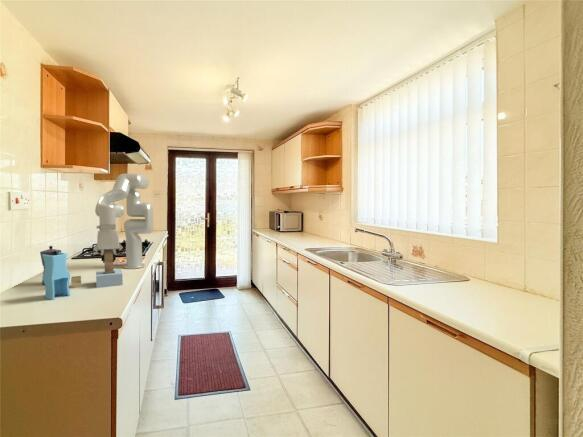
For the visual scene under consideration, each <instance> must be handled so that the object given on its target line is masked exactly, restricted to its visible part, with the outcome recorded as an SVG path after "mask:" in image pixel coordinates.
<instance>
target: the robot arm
mask: <svg viewBox="0 0 583 437" xmlns="http://www.w3.org/2000/svg"><path fill="white" fill-rule="evenodd" d="M149 186H150V180H149V178H148V176H147V175H145V174H141V173H121V174H119V175H118V176H117V178H116V180H115V182H114V184H113V187H112V189H111V190H109V191H107V192H105V194H104V193H103V195H101V196H100V197H99V199H98V201H97V203H96V205H95V208H94V209H95V211H94V212H95V215H96V216H97V217H99V225H96V229H98V231H97V237H96V238H97V239H96V240H97V241H96V245H95V246H94V247H93V248H92V249H93V251H94V252H96V253H98V254H99V255H100V256H101V258H100V260H101V262H102V263H103V264H104V250H111V249H113V263H115V261H116V257H117V256H116V255H117V254H118V253H119V252H120V251H121V250H123V249H124V248H123V247H124V246H123V245H122V244H121V243H120V238H119V231H118V229H117V225H116V224H117V223H116V220H117V219H116V218H122V217H123V216H124V215H125V213H126V215H127V216H128V217H131V218H129V219H127V220H125V221H124V223H123V230H124V234H125V259H126V260H125V262H126V264H124V265H123V269H127V270H129V269H130V270H131V269H133V270H135V269H141V268H145V266H146V265H145V263H143V240H142V238H141V236H140V234H151V233H152V232H153V230H154V207H153V205H152V203H150V202H144V201H143V202H142V199H141V197H142V196H141V195H142V194H141V193H140V192H139V190H146V189H147V188H148V187H149ZM138 189H139V190H138ZM124 199H126V202H125V203H126V206H125V207H126V208H125V207H124V205H123V204H121V203H116V202H119V201H122V200H124Z"/></svg>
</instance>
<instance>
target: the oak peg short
mask: <svg viewBox="0 0 583 437" xmlns="http://www.w3.org/2000/svg"><path fill="white" fill-rule="evenodd" d="M70 280H71V282H70V283H71V289H72V288H73V289H75V288H81V287H82V276H81V275H76V276H71V277H70Z"/></svg>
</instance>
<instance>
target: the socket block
mask: <svg viewBox="0 0 583 437" xmlns="http://www.w3.org/2000/svg"><path fill="white" fill-rule="evenodd" d="M122 271H123V270H122V269H121V268H120V269H113V273H106V274H105V270H99V271H97V270H96V271H95V278H96V279H95V281H96V284H95V285H96V289H99V288H107V287H108V288H109V287H117V286H123V285H124V284H123V272H122Z"/></svg>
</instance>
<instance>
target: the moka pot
mask: <svg viewBox="0 0 583 437" xmlns="http://www.w3.org/2000/svg"><path fill="white" fill-rule="evenodd" d="M48 248H49V249H45V250H42V251H39V254H40V259H41V264H42V266H43V267H42V268H43V272H42V275H43V274H44V271H45V262H44V259H43V257H42V255H43V254H44V255H49V256H54V255H58V252H61V253H62V250H61V249H57V248H53V245H49V246H48ZM41 280H42V281H41V284H42V285H45V284H44V281H43V279H41Z"/></svg>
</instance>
